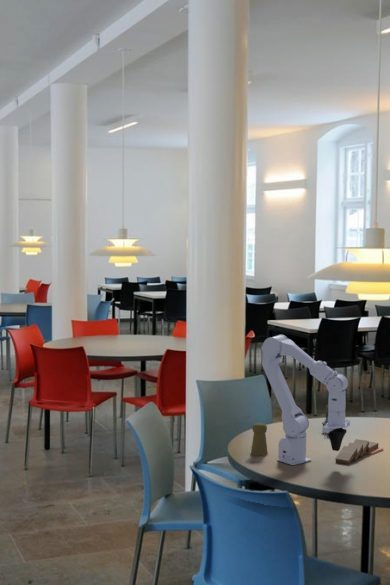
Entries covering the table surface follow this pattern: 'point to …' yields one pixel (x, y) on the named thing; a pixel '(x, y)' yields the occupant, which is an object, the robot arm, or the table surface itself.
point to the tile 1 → (346, 455)
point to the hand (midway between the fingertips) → (335, 450)
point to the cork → (259, 440)
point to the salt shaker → (326, 417)
